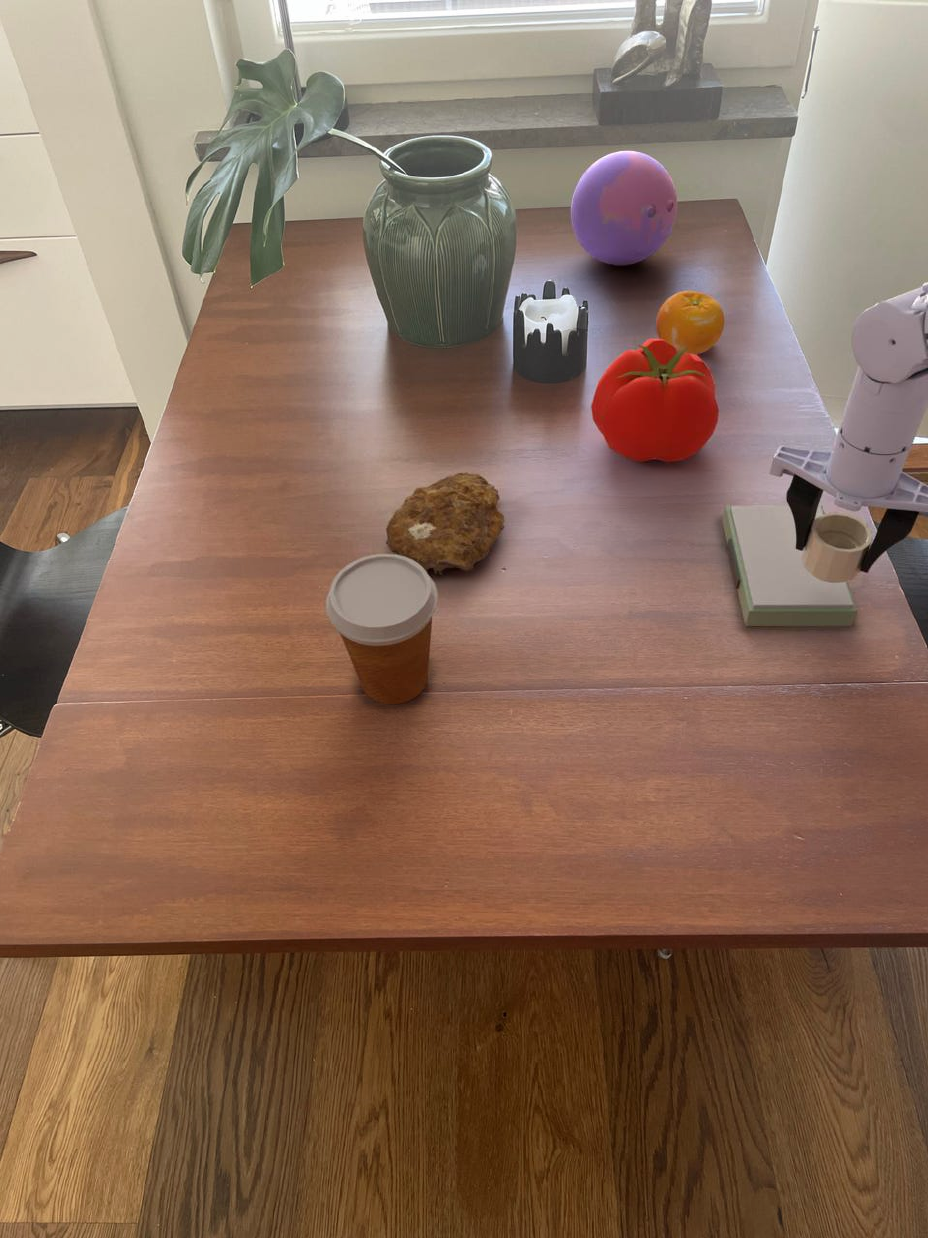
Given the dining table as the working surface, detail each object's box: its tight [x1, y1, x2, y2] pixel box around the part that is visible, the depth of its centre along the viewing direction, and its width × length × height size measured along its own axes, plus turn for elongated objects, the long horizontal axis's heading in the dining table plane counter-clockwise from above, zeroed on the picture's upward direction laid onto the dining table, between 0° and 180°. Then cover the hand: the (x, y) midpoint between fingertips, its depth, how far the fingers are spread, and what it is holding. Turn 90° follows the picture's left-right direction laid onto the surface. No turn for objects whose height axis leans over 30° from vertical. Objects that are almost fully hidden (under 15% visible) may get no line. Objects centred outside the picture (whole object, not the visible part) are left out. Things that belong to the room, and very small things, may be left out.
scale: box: [721, 504, 858, 627], centre depth 92 cm, size 15×10×3 cm
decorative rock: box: [385, 472, 506, 576], centre depth 98 cm, size 11×4×15 cm
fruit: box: [655, 290, 725, 355], centre depth 119 cm, size 8×9×8 cm
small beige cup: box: [801, 511, 874, 583], centre depth 84 cm, size 5×5×4 cm
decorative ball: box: [570, 150, 678, 266], centre depth 132 cm, size 15×15×15 cm
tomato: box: [590, 338, 720, 463], centre depth 103 cm, size 13×14×12 cm
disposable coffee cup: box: [325, 553, 439, 705], centre depth 82 cm, size 10×10×12 cm
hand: (833, 554), depth 85 cm, fingers closed on small beige cup, 5 cm apart
